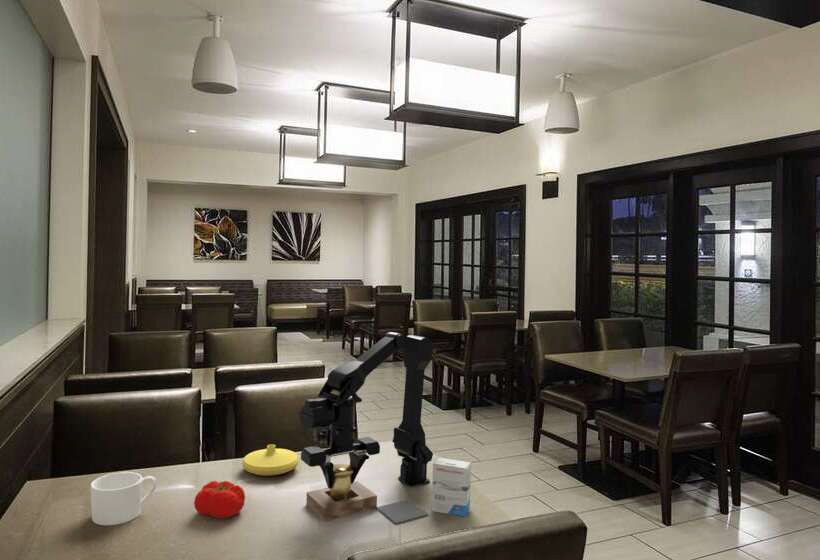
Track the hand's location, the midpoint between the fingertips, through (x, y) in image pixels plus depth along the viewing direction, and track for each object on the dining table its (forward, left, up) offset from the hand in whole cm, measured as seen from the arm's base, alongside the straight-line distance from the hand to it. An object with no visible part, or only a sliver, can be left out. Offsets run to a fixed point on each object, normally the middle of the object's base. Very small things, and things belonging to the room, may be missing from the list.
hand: (340, 485), depth 136 cm
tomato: (+26, -11, -6) cm, 28 cm away
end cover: (0, 0, -4) cm, 4 cm away
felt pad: (-11, +10, -5) cm, 16 cm away
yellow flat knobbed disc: (+7, -30, -6) cm, 31 cm away
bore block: (0, 0, -5) cm, 5 cm away
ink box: (-22, +15, -5) cm, 27 cm away
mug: (+45, -21, -5) cm, 50 cm away
